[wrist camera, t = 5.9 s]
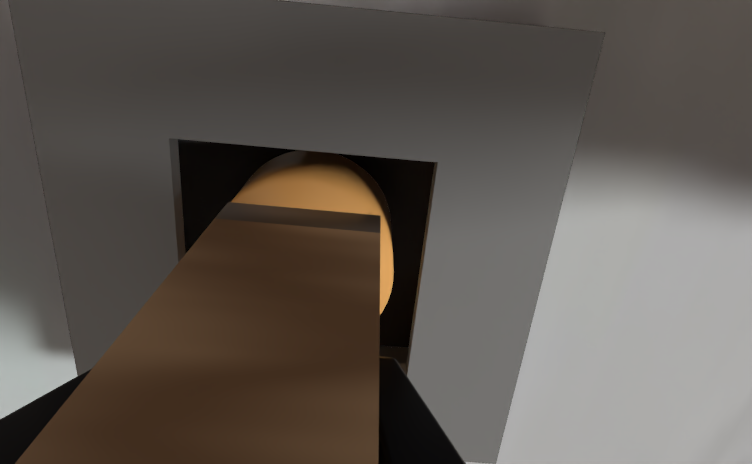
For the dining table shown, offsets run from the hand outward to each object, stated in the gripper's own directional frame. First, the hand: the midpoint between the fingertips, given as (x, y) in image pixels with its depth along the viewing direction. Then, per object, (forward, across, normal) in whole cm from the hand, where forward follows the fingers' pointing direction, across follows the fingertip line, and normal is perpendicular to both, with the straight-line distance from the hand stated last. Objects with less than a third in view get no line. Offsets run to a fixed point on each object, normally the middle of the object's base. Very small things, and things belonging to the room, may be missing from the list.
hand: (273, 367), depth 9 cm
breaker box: (+8, 0, 0) cm, 8 cm away
